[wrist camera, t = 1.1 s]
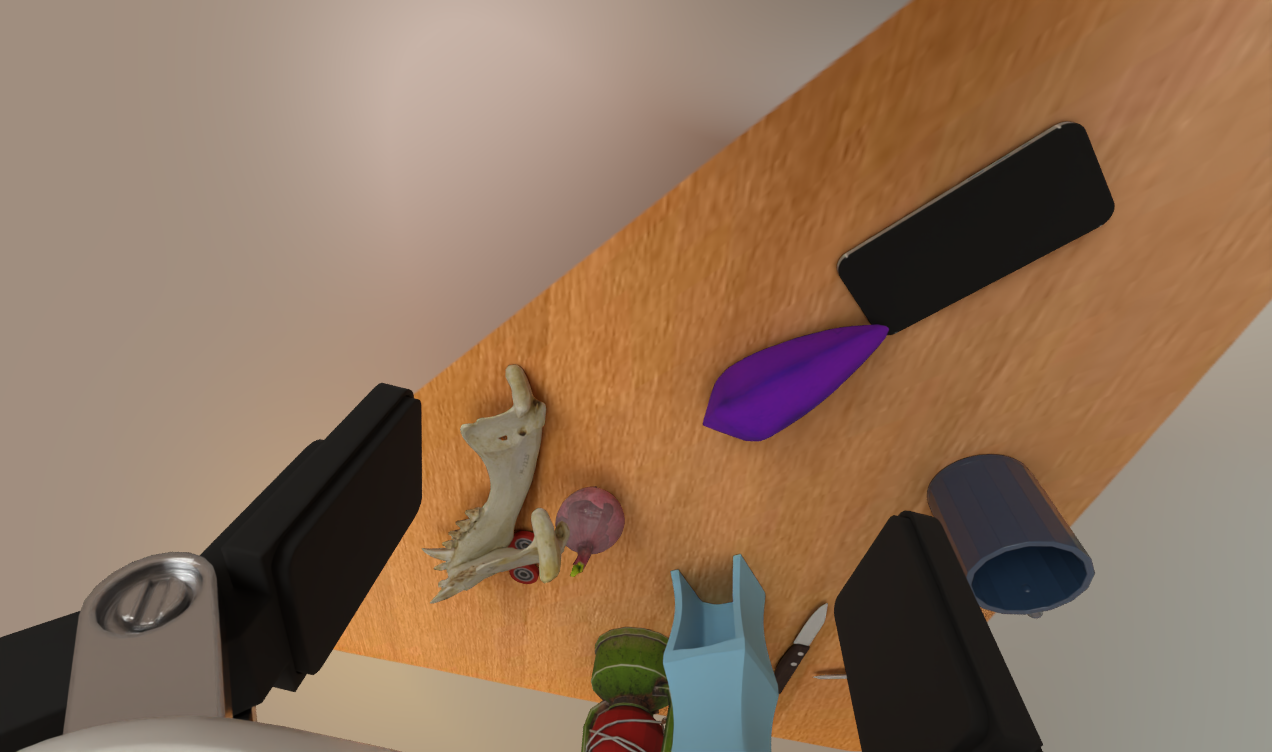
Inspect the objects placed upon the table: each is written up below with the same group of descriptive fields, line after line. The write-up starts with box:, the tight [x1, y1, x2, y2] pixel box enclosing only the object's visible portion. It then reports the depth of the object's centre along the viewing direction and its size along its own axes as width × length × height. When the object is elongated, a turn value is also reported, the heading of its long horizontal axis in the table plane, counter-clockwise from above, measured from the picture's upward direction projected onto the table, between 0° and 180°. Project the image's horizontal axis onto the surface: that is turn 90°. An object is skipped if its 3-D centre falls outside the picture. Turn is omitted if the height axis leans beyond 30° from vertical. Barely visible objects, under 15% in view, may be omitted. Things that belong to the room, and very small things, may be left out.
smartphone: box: [837, 122, 1115, 335], centre depth 36 cm, size 7×1×15 cm
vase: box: [663, 554, 779, 752], centre depth 50 cm, size 8×8×20 cm
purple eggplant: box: [703, 324, 889, 441], centre depth 41 cm, size 5×5×15 cm
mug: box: [927, 454, 1095, 618], centre depth 44 cm, size 11×8×9 cm
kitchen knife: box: [774, 603, 828, 694], centre depth 62 cm, size 18×1×2 cm
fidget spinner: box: [507, 531, 539, 584], centre depth 59 cm, size 8×7×1 cm
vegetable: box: [555, 487, 625, 577], centre depth 48 cm, size 6×6×10 cm
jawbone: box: [422, 365, 570, 603], centre depth 49 cm, size 25×18×10 cm
